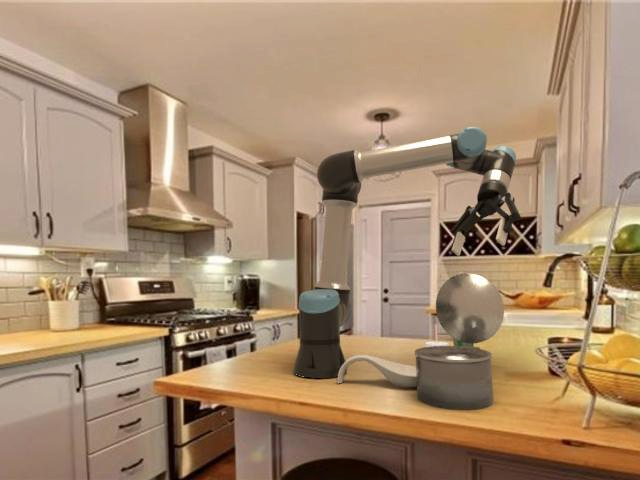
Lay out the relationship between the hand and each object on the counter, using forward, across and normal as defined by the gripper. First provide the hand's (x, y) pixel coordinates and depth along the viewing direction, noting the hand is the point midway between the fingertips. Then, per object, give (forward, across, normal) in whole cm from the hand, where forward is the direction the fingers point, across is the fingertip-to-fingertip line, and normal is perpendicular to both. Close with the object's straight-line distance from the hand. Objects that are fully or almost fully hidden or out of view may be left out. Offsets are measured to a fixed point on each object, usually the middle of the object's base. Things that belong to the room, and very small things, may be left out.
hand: (476, 247), depth 107 cm
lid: (+17, -1, -2) cm, 18 cm away
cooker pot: (+38, 0, -6) cm, 38 cm away
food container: (+16, +22, -32) cm, 42 cm away
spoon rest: (+38, +19, -2) cm, 43 cm away
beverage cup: (+29, +15, -15) cm, 36 cm away
